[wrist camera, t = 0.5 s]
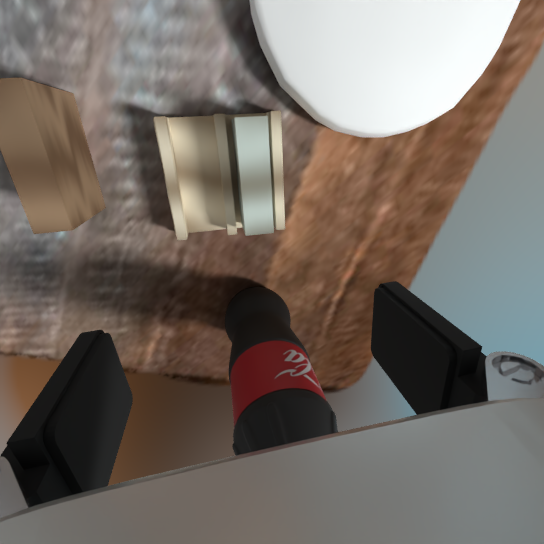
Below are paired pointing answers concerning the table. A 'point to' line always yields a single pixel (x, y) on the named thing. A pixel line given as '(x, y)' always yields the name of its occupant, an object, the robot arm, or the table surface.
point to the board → (47, 155)
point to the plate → (379, 57)
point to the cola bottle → (271, 376)
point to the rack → (223, 172)
